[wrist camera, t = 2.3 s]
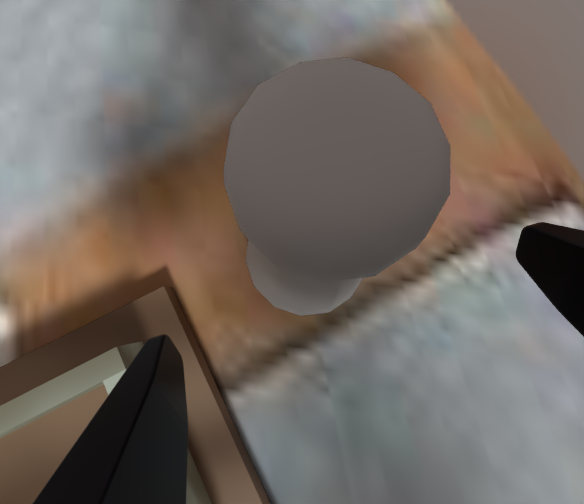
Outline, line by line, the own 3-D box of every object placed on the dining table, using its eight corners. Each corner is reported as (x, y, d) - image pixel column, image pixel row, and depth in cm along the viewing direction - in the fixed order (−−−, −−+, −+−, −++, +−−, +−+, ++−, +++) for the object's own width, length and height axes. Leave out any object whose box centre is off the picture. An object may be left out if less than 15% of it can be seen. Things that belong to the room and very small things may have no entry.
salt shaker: (348, 206, 19) (481, -21, 6) (364, 307, 18) (565, 296, 5) (245, 217, 19) (156, 7, 6) (256, 320, 18) (176, 344, 5)
